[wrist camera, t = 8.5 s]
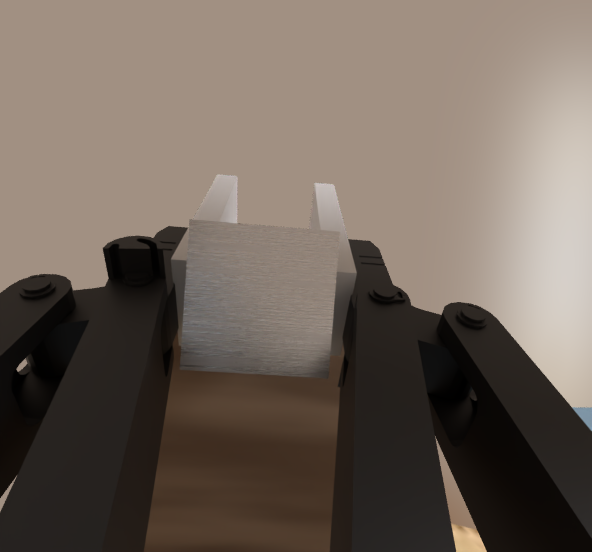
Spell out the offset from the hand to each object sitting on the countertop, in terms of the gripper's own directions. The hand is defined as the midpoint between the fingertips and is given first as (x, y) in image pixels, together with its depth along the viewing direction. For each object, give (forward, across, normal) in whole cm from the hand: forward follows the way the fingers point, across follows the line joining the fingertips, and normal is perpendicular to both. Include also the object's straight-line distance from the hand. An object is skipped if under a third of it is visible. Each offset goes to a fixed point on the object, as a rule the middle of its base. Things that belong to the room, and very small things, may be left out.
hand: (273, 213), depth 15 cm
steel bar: (0, 0, -5) cm, 5 cm away
